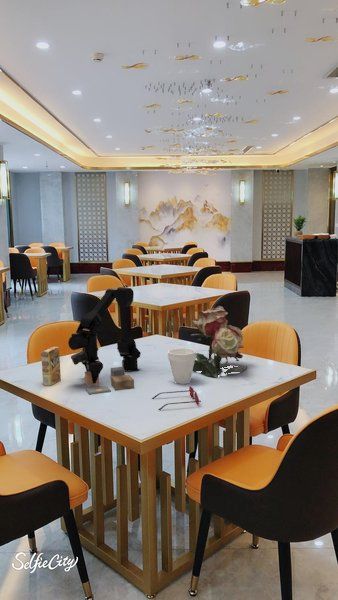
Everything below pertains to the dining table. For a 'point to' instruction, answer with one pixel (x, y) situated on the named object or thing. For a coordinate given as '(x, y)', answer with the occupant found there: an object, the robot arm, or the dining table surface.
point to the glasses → (184, 402)
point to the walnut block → (122, 382)
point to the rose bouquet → (218, 342)
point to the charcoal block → (117, 371)
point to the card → (98, 390)
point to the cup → (182, 363)
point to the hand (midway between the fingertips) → (91, 380)
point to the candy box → (50, 366)
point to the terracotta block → (90, 379)
